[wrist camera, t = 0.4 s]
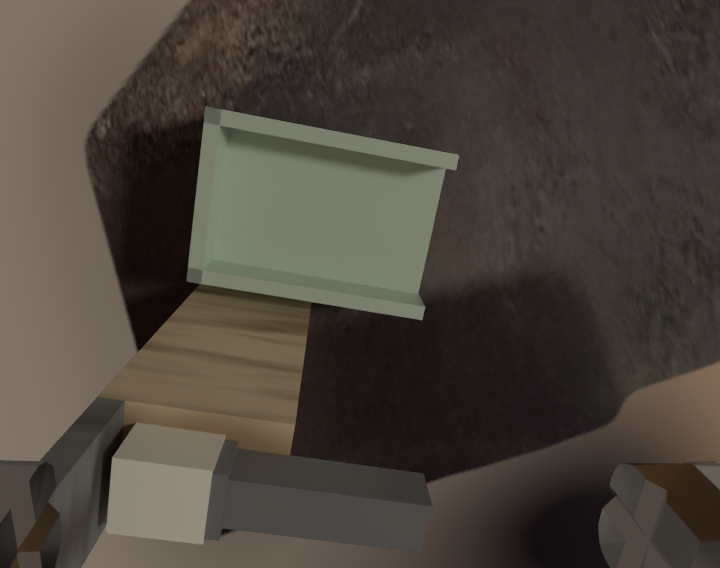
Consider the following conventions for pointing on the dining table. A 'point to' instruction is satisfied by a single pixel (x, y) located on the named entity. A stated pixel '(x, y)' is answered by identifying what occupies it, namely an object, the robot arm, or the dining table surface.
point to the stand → (186, 397)
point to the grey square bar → (257, 493)
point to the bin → (313, 213)
